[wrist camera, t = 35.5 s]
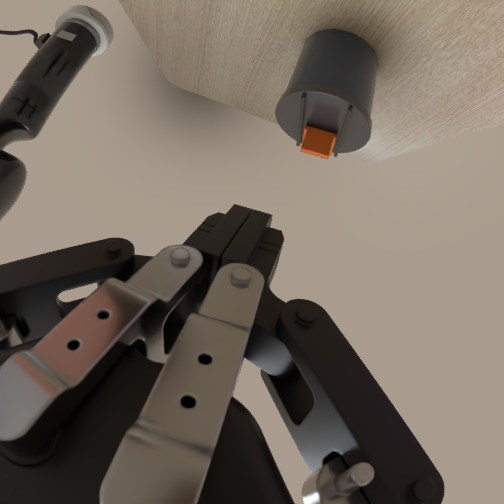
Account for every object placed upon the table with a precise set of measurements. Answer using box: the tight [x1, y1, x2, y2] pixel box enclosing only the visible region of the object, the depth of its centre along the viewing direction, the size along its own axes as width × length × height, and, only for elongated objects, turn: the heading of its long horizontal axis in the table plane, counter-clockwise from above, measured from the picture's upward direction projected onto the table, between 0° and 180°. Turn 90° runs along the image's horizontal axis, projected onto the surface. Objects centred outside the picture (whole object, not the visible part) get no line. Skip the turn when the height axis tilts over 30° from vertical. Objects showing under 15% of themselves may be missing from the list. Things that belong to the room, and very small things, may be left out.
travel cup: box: [275, 29, 378, 157], centre depth 32 cm, size 11×11×13 cm
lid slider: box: [301, 125, 337, 159], centre depth 33 cm, size 4×4×3 cm
